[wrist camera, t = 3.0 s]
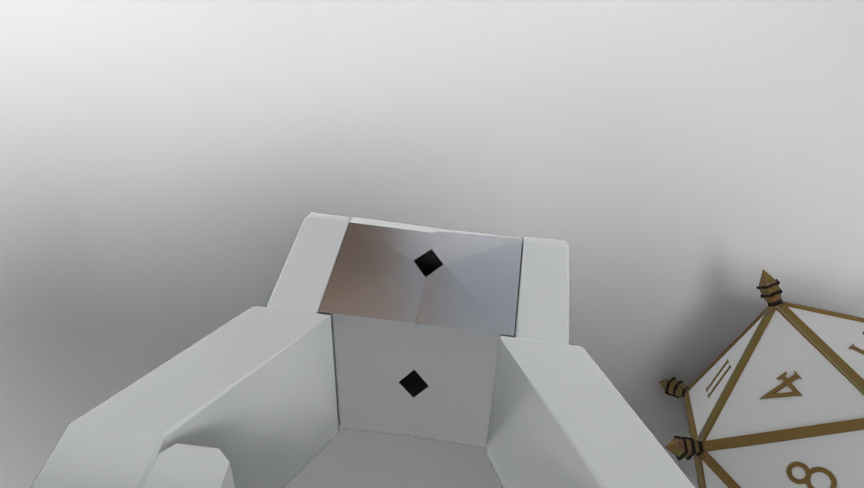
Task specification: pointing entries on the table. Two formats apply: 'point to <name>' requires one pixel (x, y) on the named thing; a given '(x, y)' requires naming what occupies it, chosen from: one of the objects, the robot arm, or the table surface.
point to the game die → (780, 402)
